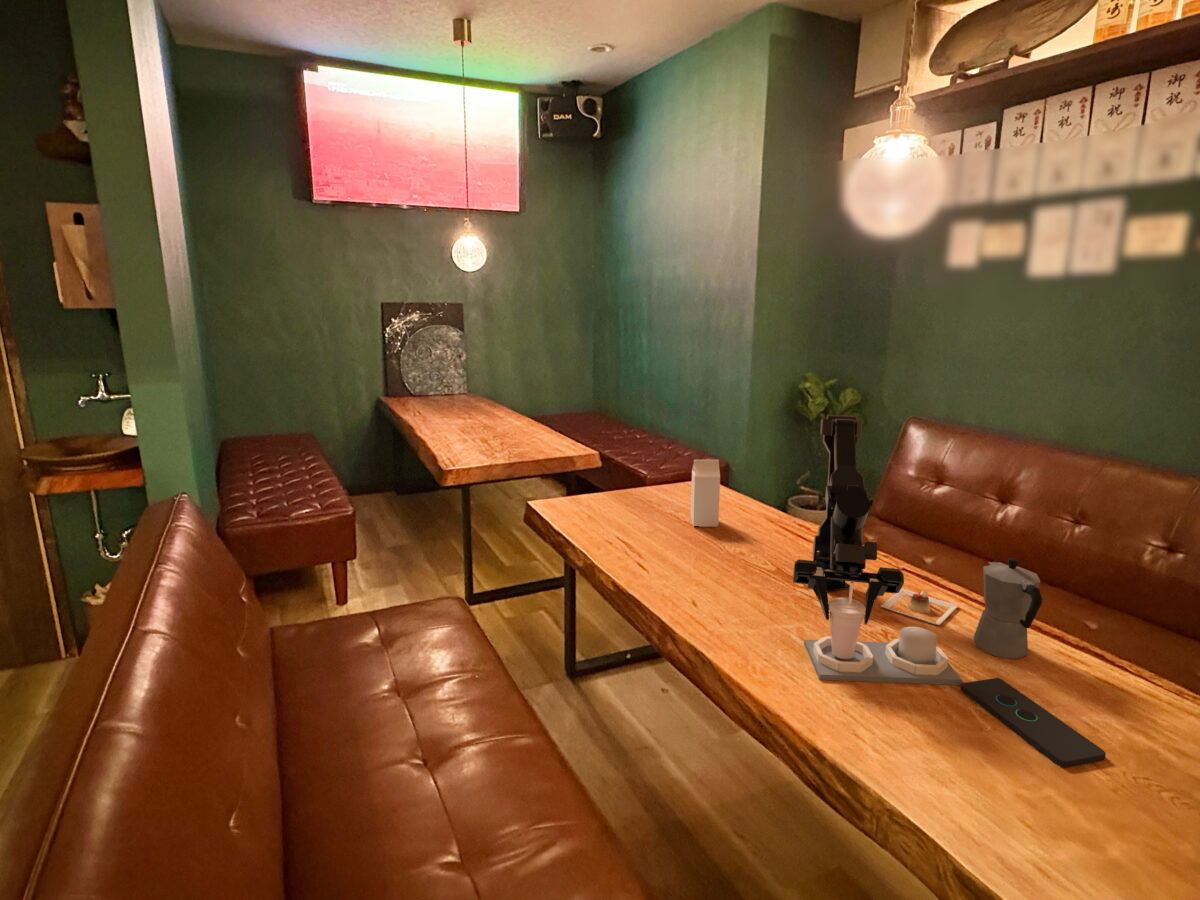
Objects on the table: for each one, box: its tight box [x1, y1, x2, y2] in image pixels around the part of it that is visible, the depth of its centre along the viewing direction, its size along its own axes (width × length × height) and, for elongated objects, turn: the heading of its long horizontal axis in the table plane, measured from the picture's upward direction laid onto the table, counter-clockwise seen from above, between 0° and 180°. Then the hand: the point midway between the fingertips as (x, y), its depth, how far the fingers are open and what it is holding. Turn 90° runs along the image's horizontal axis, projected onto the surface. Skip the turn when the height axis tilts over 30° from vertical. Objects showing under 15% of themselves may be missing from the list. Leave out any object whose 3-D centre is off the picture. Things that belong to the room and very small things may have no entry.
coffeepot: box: [973, 557, 1043, 660], centre depth 125 cm, size 15×9×18 cm, turn 0°
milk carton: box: [690, 459, 721, 528], centre depth 193 cm, size 7×7×19 cm
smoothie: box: [828, 581, 866, 659], centre depth 121 cm, size 6×6×14 cm
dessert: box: [880, 588, 960, 626], centre depth 143 cm, size 12×12×5 cm
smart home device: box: [960, 677, 1107, 769], centre depth 106 cm, size 8×2×20 cm
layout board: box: [803, 626, 963, 686], centre depth 122 cm, size 24×12×6 cm, turn 86°
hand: (846, 621), depth 120 cm, fingers closed on smoothie, 6 cm apart
